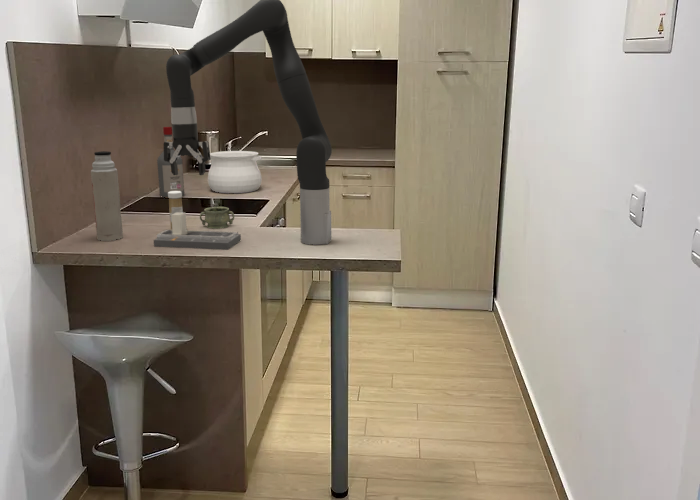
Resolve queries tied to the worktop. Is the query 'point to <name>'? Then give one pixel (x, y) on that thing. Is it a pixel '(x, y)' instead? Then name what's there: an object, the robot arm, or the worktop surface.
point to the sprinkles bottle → (174, 203)
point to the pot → (234, 172)
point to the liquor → (169, 170)
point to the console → (198, 239)
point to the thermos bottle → (106, 197)
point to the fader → (179, 223)
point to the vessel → (217, 217)
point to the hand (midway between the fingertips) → (188, 175)
